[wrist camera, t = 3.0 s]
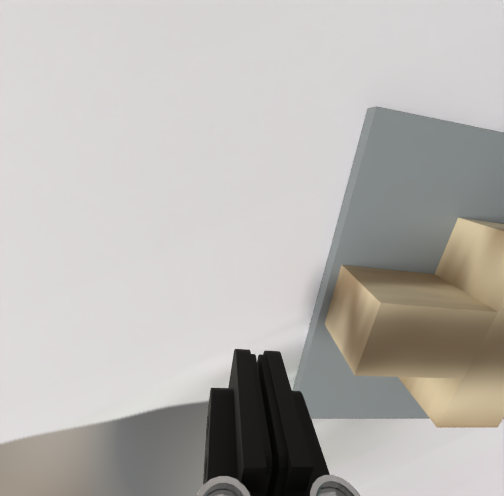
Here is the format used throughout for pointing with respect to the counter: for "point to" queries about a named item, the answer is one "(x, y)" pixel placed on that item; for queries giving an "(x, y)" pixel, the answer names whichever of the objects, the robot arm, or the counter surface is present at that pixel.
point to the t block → (432, 327)
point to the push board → (397, 238)
